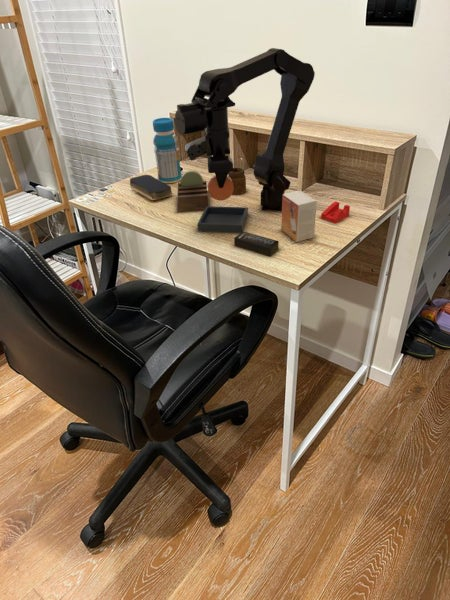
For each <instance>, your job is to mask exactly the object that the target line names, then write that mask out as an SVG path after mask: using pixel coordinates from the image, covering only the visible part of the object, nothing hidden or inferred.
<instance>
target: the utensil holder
mask: <svg viewBox="0 0 450 600" xmlns="http://www.w3.org/2000/svg"><path fill="white" fill-rule="evenodd" d="M227 155H228V156H230V154H226V156H227ZM238 161H239V162H238ZM240 162H241V165H240ZM236 164H238V165H237V167H233V171H232V172H229V173H228V177H229V178H230V179H231V180H232V182H233V186H234V190H233V193H232V195H241V194H244V193H245V192H246V190H247V178H246V177H247V176H246V175H245V169H244V167H245V165H243V164H244V159H243V158H238V159H237V162H236ZM240 166H241V167H240Z"/></svg>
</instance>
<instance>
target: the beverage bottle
mask: <svg viewBox="0 0 450 600" xmlns="http://www.w3.org/2000/svg"><path fill="white" fill-rule="evenodd" d="M152 129H153V132H154V133H155V134H154V136H153V139H152V140H153V141H152V144H153V145H154V147H153V153H154V155H155V162H156V170H157V179H158V180H160V181H162V182H163V183H165V184H174V183H179V182H180V181H181V177H182V175H183V174H182V169H181V162H180V146H179V145H178V142H179V139H178V137H177V135H176V133H175V132H174V130H175V121H174V118H171V117H159V118H155V119H153V120H152Z"/></svg>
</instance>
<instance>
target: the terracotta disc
mask: <svg viewBox="0 0 450 600" xmlns="http://www.w3.org/2000/svg"><path fill="white" fill-rule="evenodd" d="M233 190H234V186H233V182H232V180H231V179H230V178H229V177H228V176H227V178H226V181H225V184H224V186H223V188H219V186H218V183H217V179H216V175H215V174H214V175H213V176H212V177H211V178H210V179H209V180H208V183H207V191H208V192H209V197H211V198H213V199H214V200H216V201H225V200H227V199H229V198H230V197H231V196H232V195H233V194H232V193H233Z"/></svg>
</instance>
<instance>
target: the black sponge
mask: <svg viewBox="0 0 450 600" xmlns="http://www.w3.org/2000/svg"><path fill="white" fill-rule="evenodd" d="M129 186H130V188H131V189H132V190H134V191H135V192H137V193H138V194H141V195H142V196H144V197H145V198H148V199H149V200H150V201H154V200H155V201H156V200H160V199H164V198H169V197H171V196H172V195H173V190H172V186H170V185H169V184H168V183H163V182H162V181H160V180H159V179H158V178H156V177H154V176H152V175H150V174H143V175H139V176H135V177H130V178H129Z"/></svg>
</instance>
